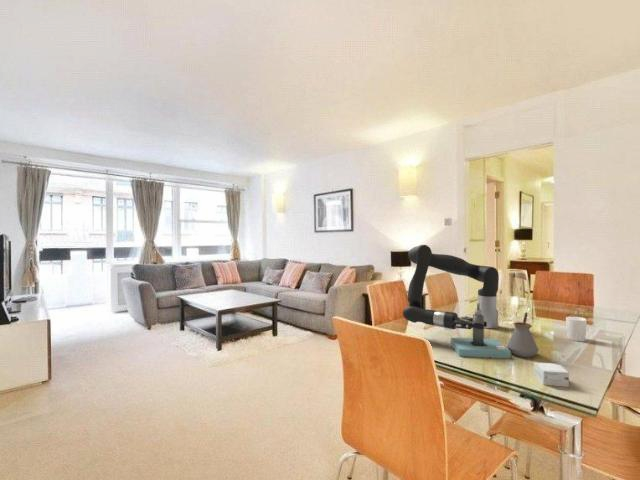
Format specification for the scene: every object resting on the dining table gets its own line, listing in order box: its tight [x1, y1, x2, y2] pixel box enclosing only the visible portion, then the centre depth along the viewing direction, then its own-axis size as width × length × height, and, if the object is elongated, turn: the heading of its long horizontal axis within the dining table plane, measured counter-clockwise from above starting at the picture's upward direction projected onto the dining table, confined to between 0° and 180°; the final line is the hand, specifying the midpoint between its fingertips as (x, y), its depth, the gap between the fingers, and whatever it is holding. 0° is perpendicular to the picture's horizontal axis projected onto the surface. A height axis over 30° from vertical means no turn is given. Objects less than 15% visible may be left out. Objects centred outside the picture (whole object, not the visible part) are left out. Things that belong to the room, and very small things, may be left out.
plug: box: [472, 302, 485, 346], centre depth 147 cm, size 4×4×19 cm
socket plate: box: [450, 337, 512, 359], centre depth 147 cm, size 20×16×4 cm
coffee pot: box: [506, 312, 539, 358], centre depth 146 cm, size 21×12×15 cm, turn 142°
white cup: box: [565, 316, 588, 342], centre depth 160 cm, size 8×8×10 cm
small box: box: [533, 362, 570, 388], centre depth 116 cm, size 8×8×5 cm
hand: (484, 325), depth 145 cm, fingers closed on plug, 4 cm apart
